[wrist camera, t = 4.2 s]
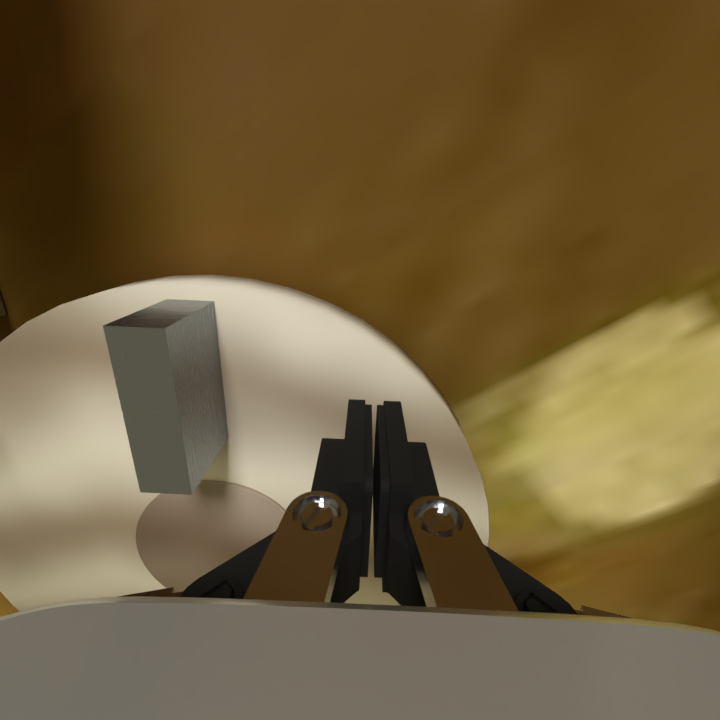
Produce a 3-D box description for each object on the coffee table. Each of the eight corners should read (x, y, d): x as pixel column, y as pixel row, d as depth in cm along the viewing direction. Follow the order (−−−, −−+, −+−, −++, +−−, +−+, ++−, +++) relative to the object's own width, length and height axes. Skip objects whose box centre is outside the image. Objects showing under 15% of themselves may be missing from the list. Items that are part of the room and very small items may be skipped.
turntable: (444, 669, 21) (465, 796, 17) (65, 650, 21) (-20, 771, 17) (519, 287, 13) (601, 327, 9) (-89, 261, 13) (-334, 286, 9)
